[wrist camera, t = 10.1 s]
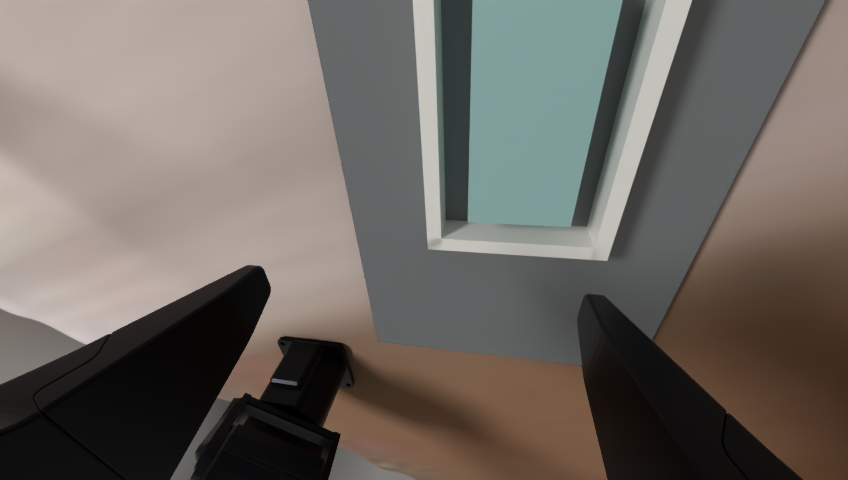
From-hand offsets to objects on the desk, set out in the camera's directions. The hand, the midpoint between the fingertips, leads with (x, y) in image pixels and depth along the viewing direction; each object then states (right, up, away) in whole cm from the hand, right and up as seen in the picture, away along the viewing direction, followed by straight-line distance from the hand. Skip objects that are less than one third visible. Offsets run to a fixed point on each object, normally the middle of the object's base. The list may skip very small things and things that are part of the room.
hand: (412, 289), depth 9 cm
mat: (+6, +4, +10) cm, 12 cm away
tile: (+5, +8, +7) cm, 11 cm away
